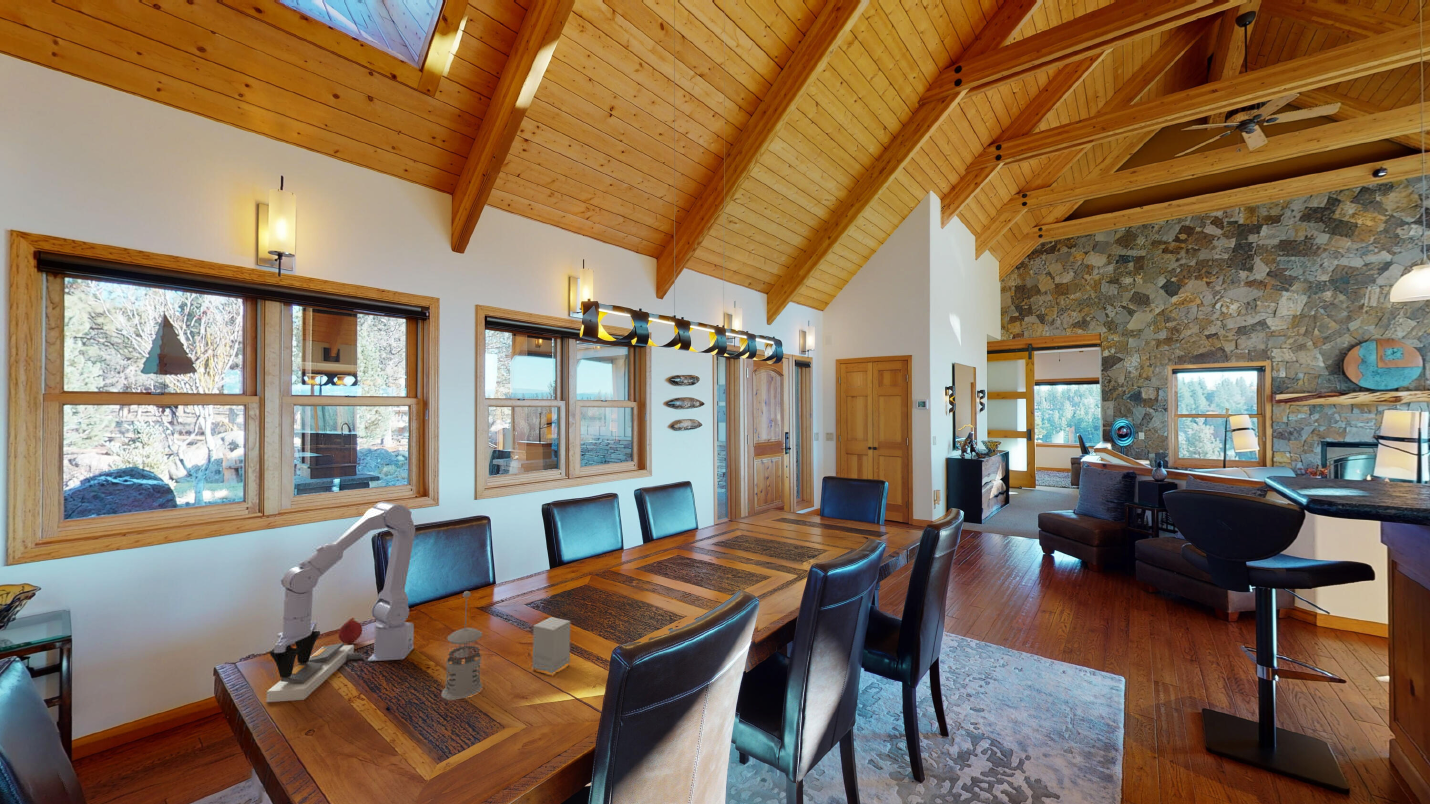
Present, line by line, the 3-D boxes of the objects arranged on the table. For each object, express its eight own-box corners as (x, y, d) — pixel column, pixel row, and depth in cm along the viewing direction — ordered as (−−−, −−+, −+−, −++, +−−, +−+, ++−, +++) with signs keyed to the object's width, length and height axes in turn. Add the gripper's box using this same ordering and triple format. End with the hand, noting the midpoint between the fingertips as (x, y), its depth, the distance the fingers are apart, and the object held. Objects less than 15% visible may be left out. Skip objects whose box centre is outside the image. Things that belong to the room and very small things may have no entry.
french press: (440, 703, 127) (445, 600, 128) (441, 682, 137) (445, 586, 138) (485, 695, 131) (489, 594, 132) (481, 674, 142) (485, 581, 143)
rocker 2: (344, 645, 149) (343, 641, 149) (327, 659, 140) (326, 656, 140) (324, 649, 148) (324, 646, 148) (306, 664, 139) (305, 660, 139)
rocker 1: (322, 666, 138) (323, 662, 138) (303, 683, 129) (304, 679, 130) (301, 664, 137) (302, 660, 137) (280, 681, 129) (281, 677, 129)
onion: (349, 649, 154) (350, 622, 155) (333, 647, 156) (334, 620, 156) (366, 641, 160) (367, 615, 160) (350, 639, 161) (351, 613, 162)
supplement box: (570, 665, 148) (571, 620, 148) (551, 677, 141) (553, 629, 142) (550, 660, 151) (551, 615, 152) (531, 671, 144) (532, 624, 145)
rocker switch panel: (366, 653, 152) (367, 644, 153) (320, 698, 128) (320, 687, 128) (322, 655, 150) (322, 646, 150) (266, 702, 126) (266, 691, 126)
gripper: (296, 605, 140) (293, 657, 139) (261, 627, 126) (257, 684, 125) (326, 604, 141) (323, 655, 141) (294, 625, 127) (291, 682, 127)
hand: (294, 669), depth 133 cm, fingers open, 7 cm apart
